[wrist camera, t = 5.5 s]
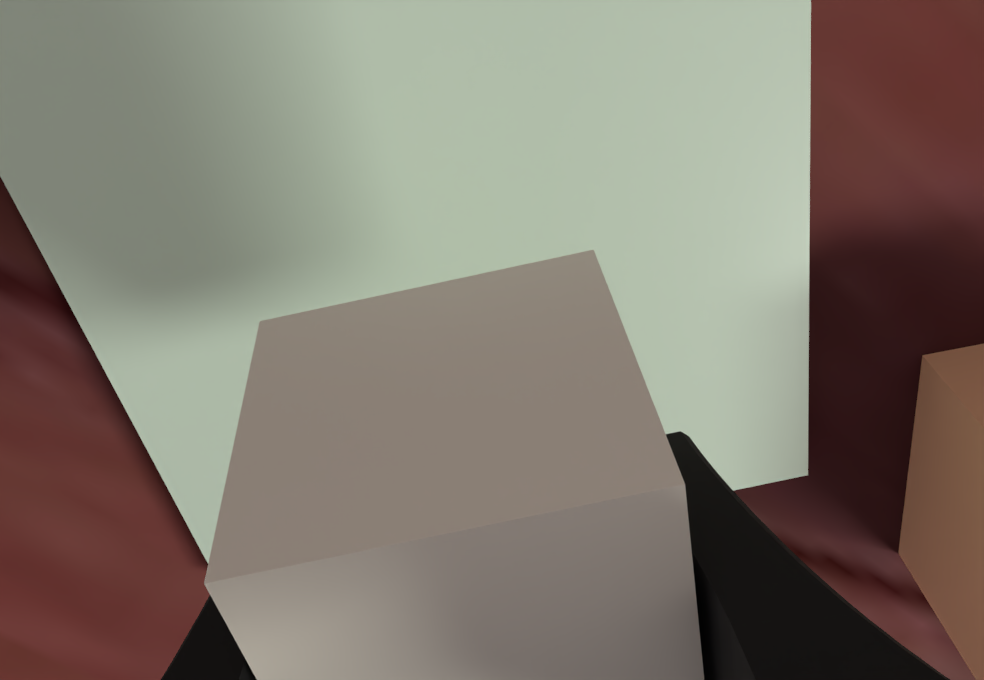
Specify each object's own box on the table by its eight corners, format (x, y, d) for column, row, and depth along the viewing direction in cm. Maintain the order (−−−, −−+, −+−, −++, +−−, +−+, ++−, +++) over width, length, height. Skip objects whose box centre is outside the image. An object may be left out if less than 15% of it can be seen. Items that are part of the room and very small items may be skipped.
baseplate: (228, 576, 22) (224, 595, 22) (-80, -13, 15) (-96, -3, 14) (798, 457, 22) (808, 475, 22) (797, -213, 14) (812, -210, 14)
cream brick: (384, 630, 16) (383, 909, 12) (259, 321, 12) (204, 583, 9) (641, 578, 16) (720, 843, 12) (593, 249, 12) (684, 483, 8)
